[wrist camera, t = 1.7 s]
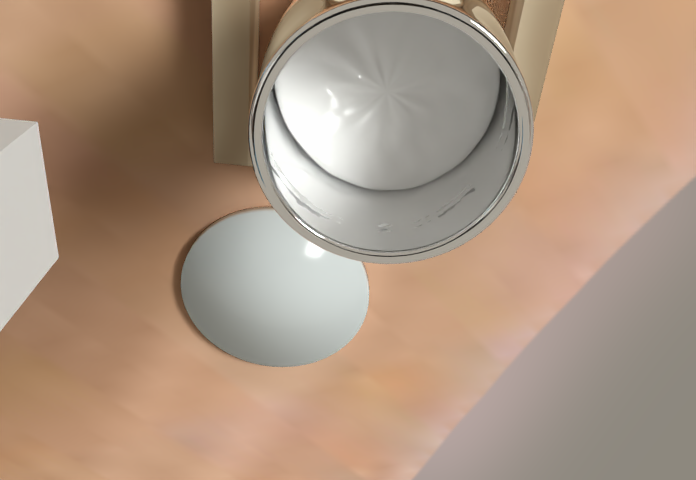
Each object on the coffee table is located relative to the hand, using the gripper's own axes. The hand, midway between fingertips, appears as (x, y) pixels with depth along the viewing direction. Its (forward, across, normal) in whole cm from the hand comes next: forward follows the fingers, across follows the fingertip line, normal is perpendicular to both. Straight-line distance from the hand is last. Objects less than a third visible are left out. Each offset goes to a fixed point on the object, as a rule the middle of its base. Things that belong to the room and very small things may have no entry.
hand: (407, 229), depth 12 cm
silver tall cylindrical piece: (+19, 0, 0) cm, 19 cm away
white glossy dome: (+19, -4, -15) cm, 24 cm away
